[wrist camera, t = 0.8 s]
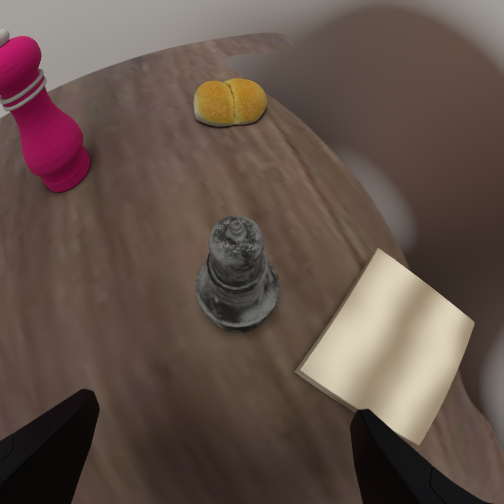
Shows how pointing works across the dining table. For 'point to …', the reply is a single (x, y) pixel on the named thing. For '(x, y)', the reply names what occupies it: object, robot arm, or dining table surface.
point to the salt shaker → (237, 276)
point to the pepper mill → (40, 117)
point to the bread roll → (229, 102)
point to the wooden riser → (390, 348)
